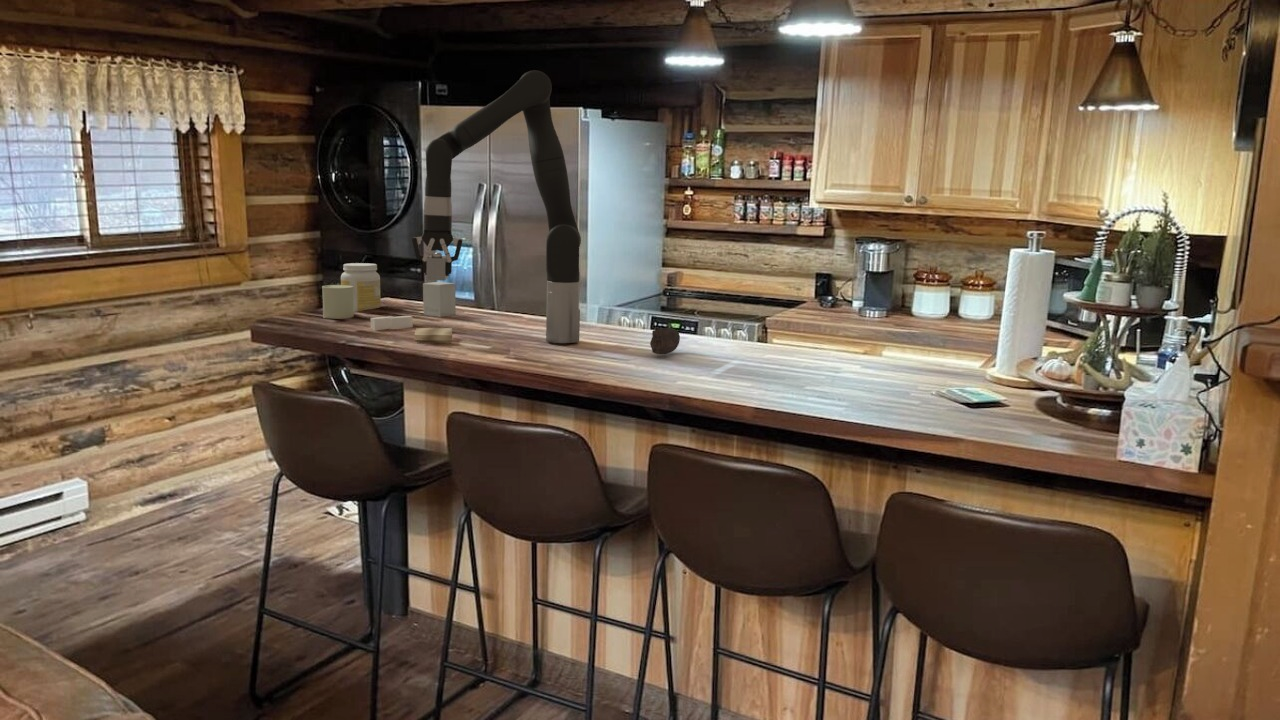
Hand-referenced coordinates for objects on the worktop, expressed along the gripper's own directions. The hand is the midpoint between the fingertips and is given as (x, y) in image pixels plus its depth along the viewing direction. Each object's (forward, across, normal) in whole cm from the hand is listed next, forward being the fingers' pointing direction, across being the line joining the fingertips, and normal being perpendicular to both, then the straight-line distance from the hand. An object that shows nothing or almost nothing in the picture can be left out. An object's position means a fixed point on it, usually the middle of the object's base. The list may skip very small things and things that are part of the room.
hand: (436, 275), depth 265 cm
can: (+19, +30, -28) cm, 46 cm away
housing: (+1, 0, 0) cm, 1 cm away
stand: (+18, 0, +2) cm, 18 cm away
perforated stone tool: (+17, -62, +20) cm, 67 cm away
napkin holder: (+19, +14, -10) cm, 25 cm away
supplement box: (+18, 0, -33) cm, 38 cm away
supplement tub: (+19, +26, -46) cm, 56 cm away
